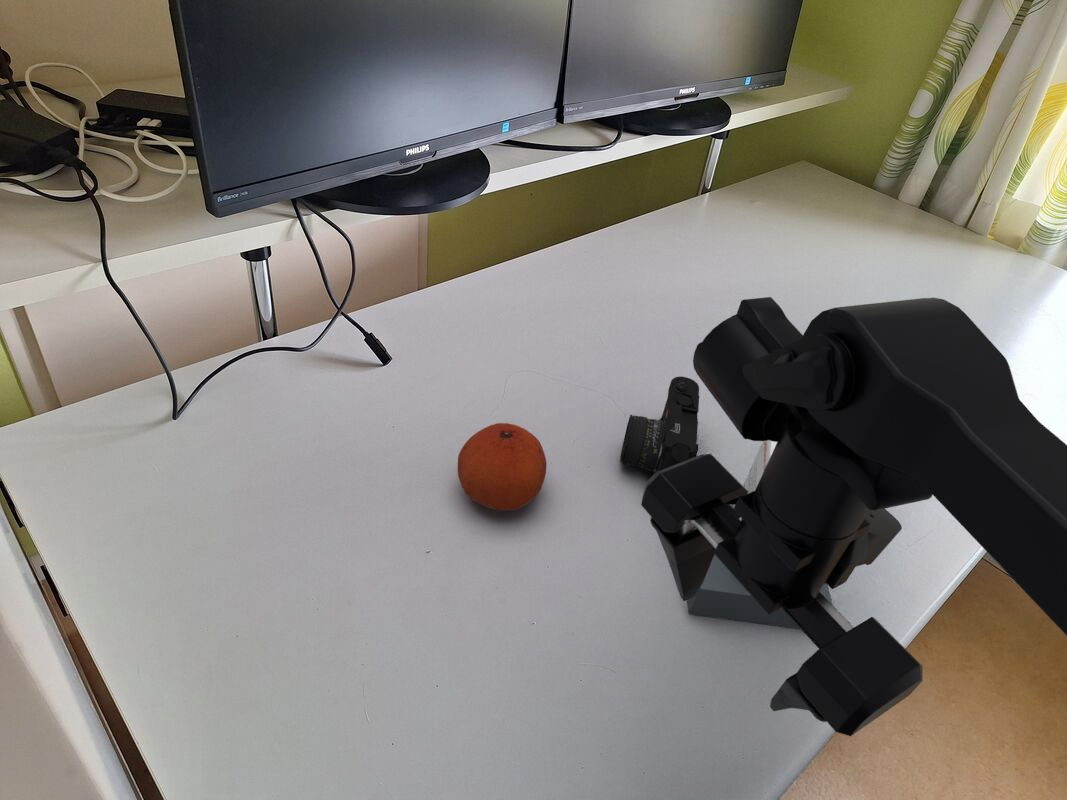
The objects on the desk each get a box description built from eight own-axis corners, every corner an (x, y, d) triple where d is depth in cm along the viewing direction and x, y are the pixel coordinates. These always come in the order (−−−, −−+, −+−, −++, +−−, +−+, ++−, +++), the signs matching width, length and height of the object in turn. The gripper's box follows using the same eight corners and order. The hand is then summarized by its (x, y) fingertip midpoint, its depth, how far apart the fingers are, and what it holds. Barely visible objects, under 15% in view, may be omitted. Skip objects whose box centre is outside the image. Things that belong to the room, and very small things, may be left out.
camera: (628, 410, 90) (642, 357, 85) (688, 423, 89) (706, 371, 84) (612, 497, 79) (628, 443, 74) (681, 513, 79) (701, 459, 73)
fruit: (471, 451, 82) (476, 395, 77) (550, 474, 81) (561, 419, 75) (441, 510, 75) (444, 453, 70) (527, 536, 74) (536, 480, 69)
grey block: (817, 631, 70) (833, 606, 67) (688, 614, 69) (699, 588, 67) (793, 529, 79) (807, 504, 76) (679, 513, 79) (689, 487, 76)
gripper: (1045, 571, 40) (913, 712, 50) (791, 365, 51) (726, 514, 62) (912, 660, 35) (796, 797, 45) (663, 409, 46) (615, 564, 57)
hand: (730, 648), depth 52 cm, fingers open, 9 cm apart
